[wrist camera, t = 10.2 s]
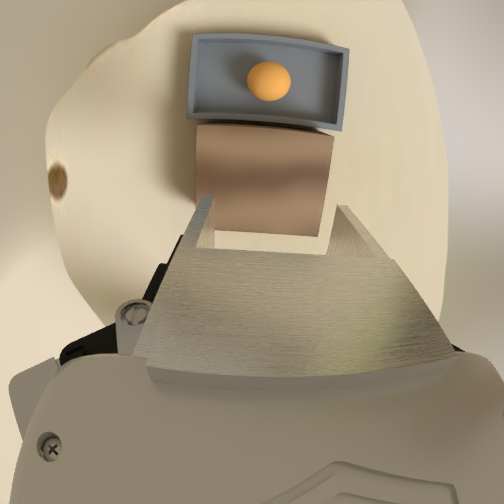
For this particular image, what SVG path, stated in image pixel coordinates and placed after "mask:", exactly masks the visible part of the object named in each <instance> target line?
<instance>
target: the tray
mask: <svg viewBox="0 0 504 504" xmlns="http://www.w3.org/2000/svg"><path fill="white" fill-rule="evenodd" d="M262 62H275V63H278V64H280V65H281V66H283V67H284V68H285V69H286V70H287V72H288V73H289V75H290V79H291V84H290V88H289V90H288V92H287V93H286V94H285V95H284V96H283V97H282V98H280V99H278V100H274V101H264V100H261V99H258V98H257V97H255V96H254V95H253V94H252V93H251V92H250V90H249V88H248V85H247V77H248V74H249V72H250V70H251V69H252V68H253V67H254V66H255V65H257V64H259V63H262ZM348 64H349V49H347V48H343V47H339V46H335V45H330V44H325V43H320V42H315V41H309V40H303V39H296V38H289V37H281V36H272V35H260V34H242V33H203V34H193V36H192V46H191V57H190V70H189V85H188V103H187V119H236V120H253V121H266V122H277V123H287V124H295V125H303V126H311V127H317V128H324V129H330V130H336V131H341V132H342V124H343V116H344V107H345V98H346V88H347V77H348Z"/></svg>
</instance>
